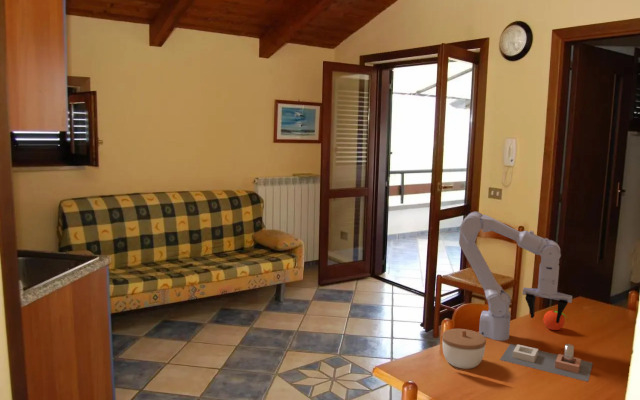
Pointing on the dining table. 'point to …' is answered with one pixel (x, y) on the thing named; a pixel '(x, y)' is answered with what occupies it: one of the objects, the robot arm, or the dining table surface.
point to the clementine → (553, 320)
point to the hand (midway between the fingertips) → (545, 319)
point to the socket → (568, 364)
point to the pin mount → (525, 353)
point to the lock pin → (568, 353)
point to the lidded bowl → (463, 347)
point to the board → (548, 364)
